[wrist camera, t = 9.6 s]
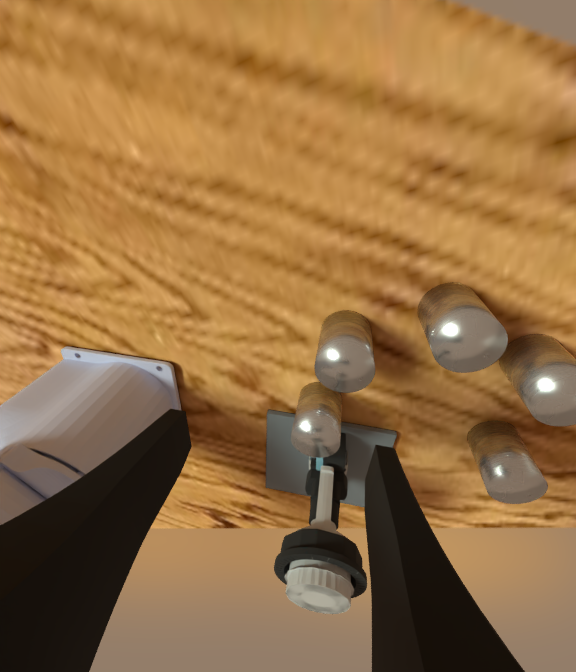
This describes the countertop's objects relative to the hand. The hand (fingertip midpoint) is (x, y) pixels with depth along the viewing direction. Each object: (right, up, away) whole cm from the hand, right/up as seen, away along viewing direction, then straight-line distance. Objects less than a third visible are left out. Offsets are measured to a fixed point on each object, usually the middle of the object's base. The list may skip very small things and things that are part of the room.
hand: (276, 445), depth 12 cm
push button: (+4, -6, +14) cm, 16 cm away
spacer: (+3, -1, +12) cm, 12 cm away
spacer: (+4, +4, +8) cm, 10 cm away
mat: (+4, -7, +15) cm, 17 cm away
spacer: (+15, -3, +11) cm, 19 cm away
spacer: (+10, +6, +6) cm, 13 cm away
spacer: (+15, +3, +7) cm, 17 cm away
